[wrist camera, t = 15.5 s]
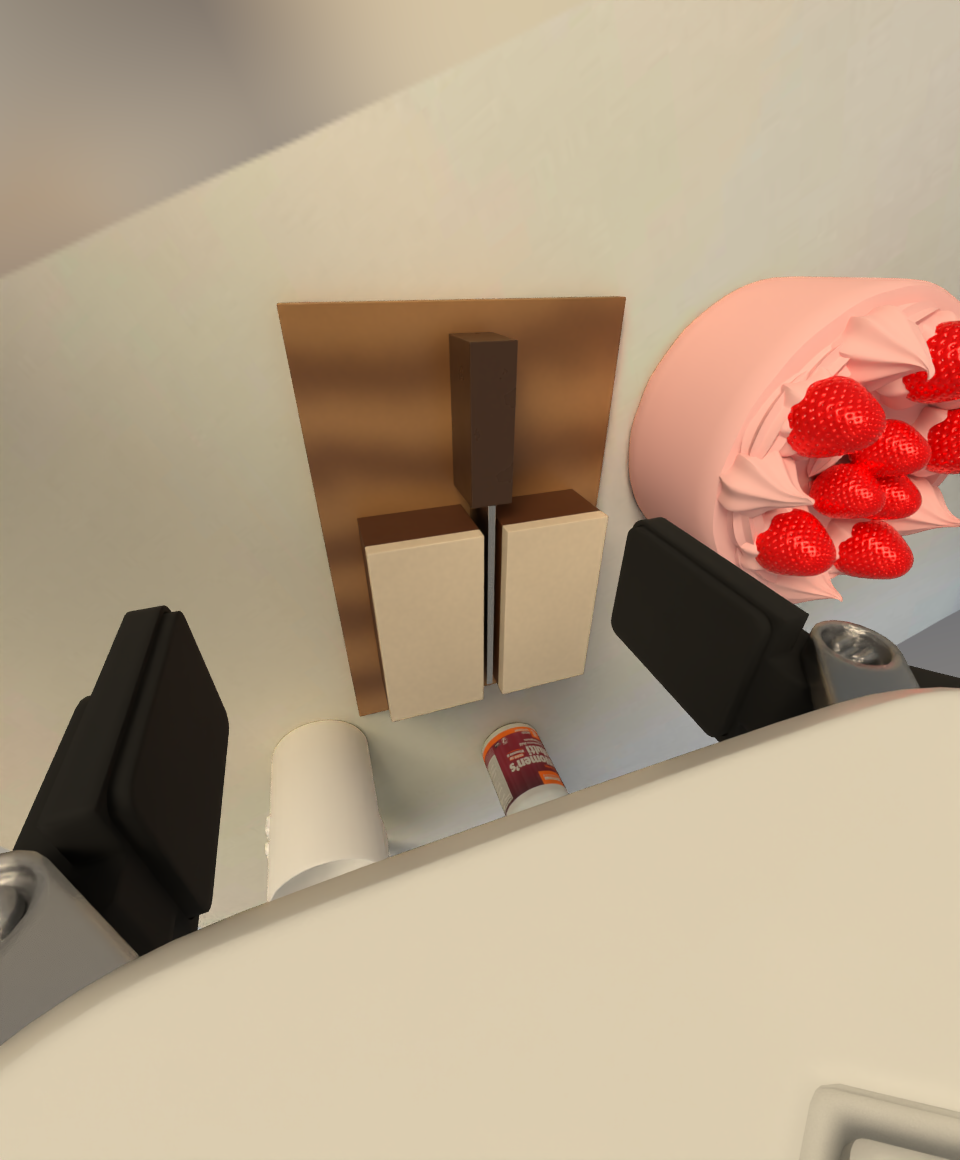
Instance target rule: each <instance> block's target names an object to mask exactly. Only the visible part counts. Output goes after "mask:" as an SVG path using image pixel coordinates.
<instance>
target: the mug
mask: <svg viewBox="0 0 960 1160" xmlns="http://www.w3.org/2000/svg"><path fill="white" fill-rule="evenodd" d="M266 836H267V837H268V840H269V843H265V853H266V856H267V858H268V886H267V902H270V901H272V900H275V899H278V898H280V897H283V896H286V895H288V894H291V893H294V892H296V891H299V890H302V889H304V888H307V887H310V886H313V885H315V884H318V883H321V882H323V881H326V880H329V879H331V878H334V877H337V876H339V875H342V874H345V873H348V872H350V871H353V870H356V869H358V868H361V867H364V866H367V865H370V864H372V863H375V862H378V861H381V860H384V859H387V858H388V857H389V845H388V838H387V834H386V830H385V827H384V824H383V821H382V819H381V816H380V814H379V809H378V803H377V797H376V791H375V785H374V779H373V773H372V767H371V761H370V755H369V749H368V743H367V739H366V737H365V735H364V734H363V733H362V732H361V731H360V730H359V729H358V728H357V727H355V726H354V725H352V724H349V723H347V722H343V721H338V720H323V721H316V722H312V723H308V724H305V725H303V726H300V727H298V728H296V729H294V730H292V731H291V732H290V733H288V734H287V735H286V736H284V737H283V738H282V740H281V741H280V742H279V743H278V745H277V746H276V748H275V750H274V752H273V755H272V768H271V798H270V817H267V818H266Z"/></svg>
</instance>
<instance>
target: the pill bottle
mask: <svg viewBox="0 0 960 1160" xmlns="http://www.w3.org/2000/svg"><path fill="white" fill-rule="evenodd" d="M482 756H483V759H484V762H485V765H486V768H487V770H488V772H489V775H490V777H491V780H492V782H493V785H494V788H495V790H496V793H497V795H498V798H499V800H500V803H501V805H502V808H503V811H504V813H505V816H508V815H511V814H514V813H517V812H519V811H522V810H525V809H528V808H531V807H534V806H537V805H539V804H542V803H545V802H548V801H551V800H554V799H557V798H559V797H562V796H565V795H568V792H567V789H566V787H565V786H564V784H563V782H562V780H561V778H560V777H559V774H558V773H557V771H556V769H555V767H554V765H553V763H552V761H551V759H550V757H549V756H548V754H547V752H546V750H545V748H544V746H543V744H542V742H541V740H540V738H539V736H538V734H537V733H536V731H535V730H534V728H533V727H531V726H530V725H527V724H524V723H513V724H509V725H505V726H503V727H501V728H499V729H497V730H496V731H495V732H493V733H492V734H491V735H490V736H489V737H488V738H487V740H486V741H485V743H484V745H483V748H482Z"/></svg>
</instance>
